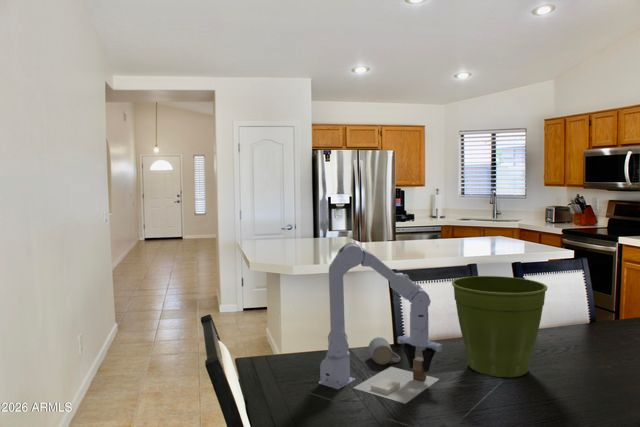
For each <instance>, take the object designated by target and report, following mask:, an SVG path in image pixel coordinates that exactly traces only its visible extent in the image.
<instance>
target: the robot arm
mask: <svg viewBox="0 0 640 427" xmlns="http://www.w3.org/2000/svg"><path fill="white" fill-rule="evenodd" d="M359 265H361V267H369V268H371V269H373V270H374V271H376V272H377V273H378V274H380V275H381V276H382V277H384V279H385V280H388V281H389V287H390V288H391V289H392V290H393V291H395V293H397V294H398V295H399V296H401V297H402V298H403V299H404V300H406V301H408V302H409V303H410V305H409V306H410V308H409V310H410V311H409V336H402V335H399V336H398V337H397V344H401V345H402V344H403V346H402V350H403V352H404V354H405V356H406V359H407V362H408V366H409V369H412V370H413V359H414V358H416V350H417V347H418V348H423V350H422V351H421V354H422V358H423V359H424V372H426V373H427V372H429V371H430V367H431V364H432V360H433V357H434V355H435V354H436V352H437V353H440V352H442V350H443V343H438V342H436V341H432V340H430V339H429V307H430V305H431V302H432V300H431V298H430V295H429V294H428V293H427V291H425V290H424V289H423V288H422V286H421V285H420V284H418V283H415V282H414V281H412V279H410V278H409V277H410V276H409V275H408V274H407V273H405V274H404V273H403V272H394V271H393V270H392V269H391V267H388V266H387V265H386V264H385V263H384V262H382V261H381V260H380V259H379V258H378V257H377V256H376V255H374V254H373V253H372V252H371V251H369V250H367V249H365V248H364V247H361V246H360V245H359V244H358V243H356V242H347V243H346V244H344V245H343V246H342V247H341V248H339V249H338V252H337V254H336V255H335V257H334V258H333V259H332V261H331V264H330V265H329V267H328V286H329V288H328V289H329V318H330V319H329V322H330V328H329V330H330V331H329V333H328V336H327V341H328V344H327V346H328V347H327V351H326V356H325V358H324V359H323V360H321V362H320V366H319V369H320V370H319V372H320V376H319V377H320V378H319V379H320V380H319V381H318V384H320V385H323V386H326V387H328V388H332V389H336V390H340V389H341V388H343V387H345V386H347V385H349V384H351V383H353V382H354V381H356V378H355V377H351V367H350V365H351V364H350V362H351V361H350V360H351V359H350V358H351V357H350V355H351V353H350V351H349V349H350V347H349V342H348V336H347V334H346V327H345V323H346V322H345V297H344V295H345V294H344V293H345V291H344V275H346V274H347V273H348V272H349V271H350V270H351V269H354V268H355V267H358V266H359Z"/></svg>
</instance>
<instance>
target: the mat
mask: <svg viewBox="0 0 640 427" xmlns="http://www.w3.org/2000/svg"><path fill="white" fill-rule="evenodd" d="M382 378H385V379H388V380H392V381H396V382H399V383H400V387H398V388H397V389H395V390H394V391H392V392H391V393H389V394H385V393H382V392H379V391H375V390H372V389H371V385H372V384H374V383H376V382H377V381H379V380H381V379H382ZM439 380H440V378H438V377H437V378H436V377H434V376H430V375H426V379H425V380H424V381H422V382H421V381H417V380H413V371H410V370H405V369H403V368H402V369H401V368H397V367H393V366H389V367H387V368H385V369H384V370H382V371H380V372H379V373H377V374H375V375H373V376H371V377H370V378H368V379H366V380H364V381H362V382H361V383H359V384H357V385H355V386H354V387H353V389H355V390H359V391H361V392H365V393H367V394H372V395H375V396H379V397H381V398H383V399H384V398H385V399H389V400H391V401H395V402H398V403H401V404H404V405H406V404H407V403H409V402H410V401H411V400H413V399H414V398H416V397H417V396H418V395H420V394H421V393H422V392H424V391H426V389H428V388H430V387H431V386H432V385H434V384H435V383H436V382H437V381H439Z"/></svg>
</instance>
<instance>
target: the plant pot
mask: <svg viewBox="0 0 640 427" xmlns="http://www.w3.org/2000/svg"><path fill="white" fill-rule="evenodd" d="M451 285H452V286H453V295H454V296H453V297H454V300H455V306H456V312H457V318H458V319H457V320H458V323H459V328H460V332H461V338H462V340H463V344H464V349H465V352H466V355H467V365H468V367H469V368H470V369H471V370H473V371H475V372H477V373H479V374H483V375H486V376H490V377H496V378H517V377H521V376H524V375H525V374H527V373H528V372H529V370H530V360H531V358H532V354H533V352H534V348H535V344H536V341H537V337H538V333H539V330H540V325H541V324H540V323H541V321H542V313H543V309H544V306H545V298H546V292H547V291H548V286H547V285H546V284H545V283H543V282H539V281H536V280H533V279H528V278H521V277H513V276H501V275H500V276H499V275H477V276H475V275H473V276H465V277H459V278H456V279H454V280H452V281H451Z"/></svg>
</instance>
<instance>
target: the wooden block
mask: <svg viewBox="0 0 640 427" xmlns="http://www.w3.org/2000/svg"><path fill="white" fill-rule="evenodd" d="M412 372H413V380H417V381H421V382H422V381H424V380H425V379H426V376H427V372H424V359H423V357H421V356H415V358H414V359H413V368H412Z"/></svg>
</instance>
